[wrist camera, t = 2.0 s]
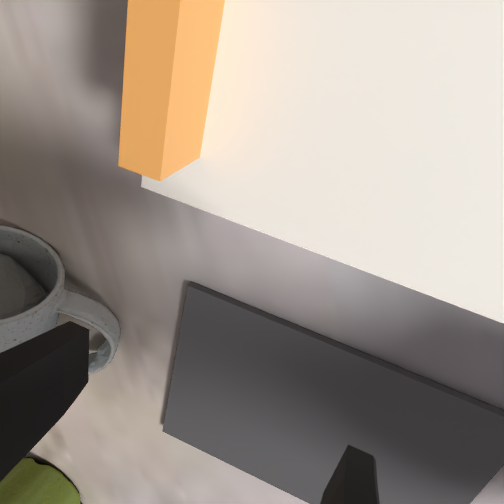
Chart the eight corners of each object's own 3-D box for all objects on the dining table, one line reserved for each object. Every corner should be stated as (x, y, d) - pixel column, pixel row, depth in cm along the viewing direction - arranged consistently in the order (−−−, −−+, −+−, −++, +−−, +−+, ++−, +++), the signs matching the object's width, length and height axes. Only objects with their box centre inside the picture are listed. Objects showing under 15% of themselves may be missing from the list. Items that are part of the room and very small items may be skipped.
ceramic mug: (-17, 305, 31) (-134, 383, 24) (-17, 205, 26) (-161, 269, 20) (117, 379, 30) (31, 482, 23) (140, 288, 25) (41, 384, 19)
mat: (532, 422, 20) (534, 429, 20) (422, 551, 26) (421, 558, 26) (191, 281, 23) (187, 285, 23) (165, 426, 30) (162, 431, 29)
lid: (710, -15, 11) (830, -26, 7) (501, 304, 16) (517, 381, 13) (190, -128, 13) (108, -174, 10) (157, 177, 19) (96, 213, 15)
